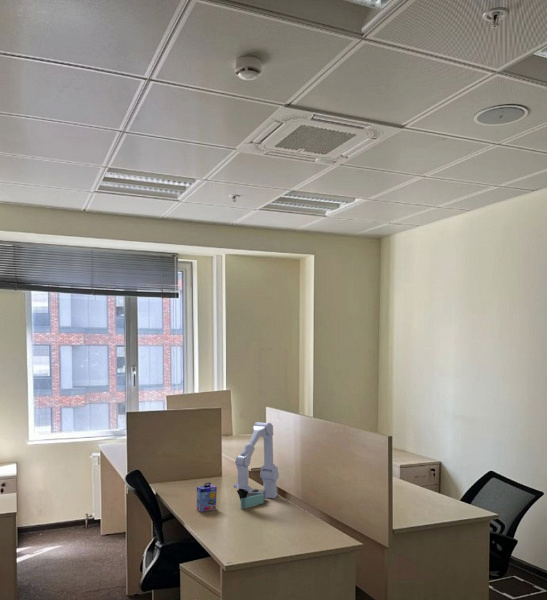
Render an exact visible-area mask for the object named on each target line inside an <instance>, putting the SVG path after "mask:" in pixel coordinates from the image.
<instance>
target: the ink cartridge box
mask: <svg viewBox="0 0 547 600" xmlns="http://www.w3.org/2000/svg"><path fill="white" fill-rule="evenodd" d="M217 488H218V487H217V486H216V485H214V484H212V482H205V483H204V485H201V486H197V487H196V510H197V511H198V512H202V513H203V512H208V511H213V510H217Z"/></svg>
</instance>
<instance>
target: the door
mask: <svg viewBox="0 0 547 600" xmlns="http://www.w3.org/2000/svg"><path fill="white" fill-rule="evenodd" d="M263 504H265V501H264V494H260V495H255V496H251V497H246V498H242V499H241V501H240V509H245V508H249V507H255V506H258V505H263Z"/></svg>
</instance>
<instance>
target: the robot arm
mask: <svg viewBox="0 0 547 600" xmlns="http://www.w3.org/2000/svg"><path fill="white" fill-rule="evenodd" d="M252 431H253V433H252V435H251V437H250V438H249V442H248V443H247V444H246V443H245V445H244V447H243V448H242V451H241V453H240V454H239V455H238V456H236V458H235V466H236V469H237V483H233V488H234V489H237V490H236V493H237V495H238V498H239V500H240V502H241V499H242V498H246V496H247V494H248V492H252V489H253V488H252V487H251V486H250V485H249V466H250V464H251V459H252V458H251V457H252V455H253V453H254V452H255V450H256V449H255V446H256V444H257V442H258V441H259V439H260V438H261V437H262V438H263V460H264V461H263V462H264V464H263V465H262V466H261V467H260V473H259V474H260V475H259V477H260V479H262V483H263V487H262V488H263V489H262V490H265V499H276V498H277V496H278V495H279V493H277V481H278V480H279V475H280V473H279V470H278V466H277V465H276V464H274V442H273V441H274V440H273V439H274V438H273V436H274V425H273V424H272V423H270V422H260V421H256V422H255V423H254V425H253V427H252Z"/></svg>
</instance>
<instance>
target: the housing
mask: <svg viewBox="0 0 547 600" xmlns="http://www.w3.org/2000/svg"><path fill="white" fill-rule="evenodd" d="M260 494H264V502H265V501H266V498H265V490H263V489H258V488H252V492H248V494H247V496H246V497H251V496H255V495H260Z"/></svg>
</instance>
